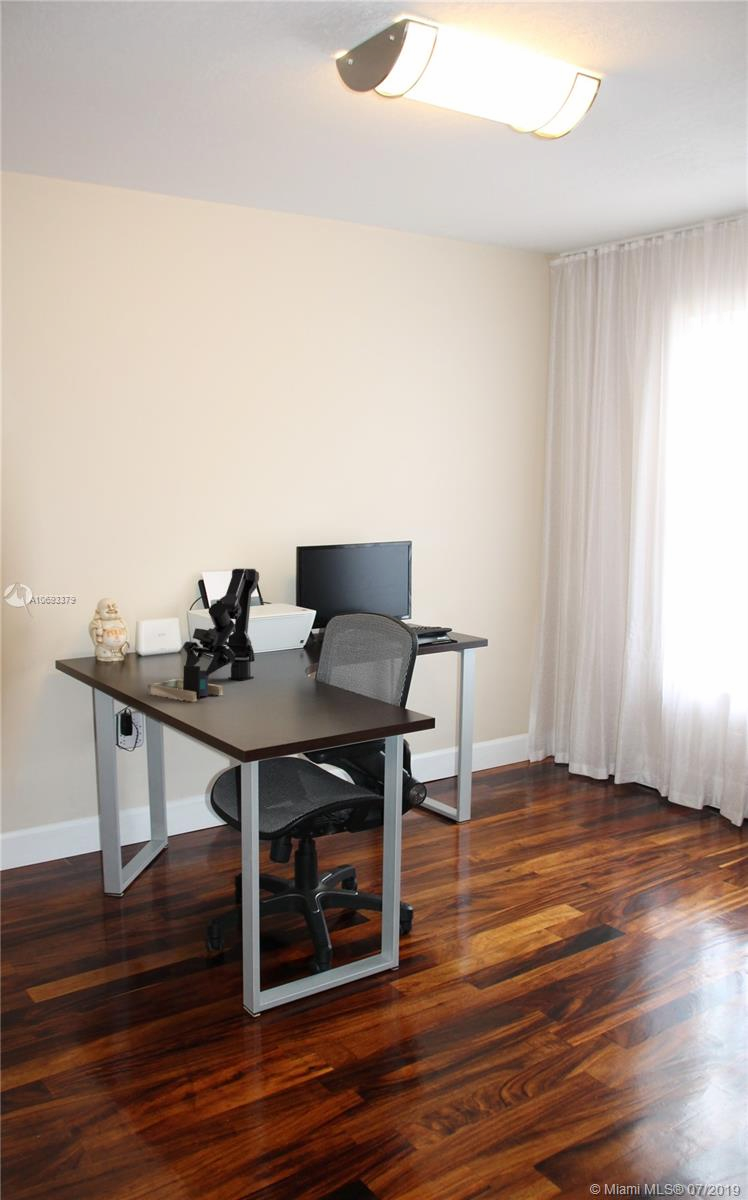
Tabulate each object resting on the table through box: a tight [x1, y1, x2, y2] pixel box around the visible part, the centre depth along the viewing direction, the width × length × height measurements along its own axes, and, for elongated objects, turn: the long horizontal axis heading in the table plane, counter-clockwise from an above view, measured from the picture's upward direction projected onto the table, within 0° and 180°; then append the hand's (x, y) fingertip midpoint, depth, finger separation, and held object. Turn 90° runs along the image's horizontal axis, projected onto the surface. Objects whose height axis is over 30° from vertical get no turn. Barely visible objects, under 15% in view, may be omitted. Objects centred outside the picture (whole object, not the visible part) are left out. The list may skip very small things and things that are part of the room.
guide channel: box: [146, 678, 224, 703], centre depth 311 cm, size 13×20×3 cm, turn 55°
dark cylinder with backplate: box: [182, 665, 210, 700], centre depth 307 cm, size 8×6×10 cm
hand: (195, 673), depth 307 cm, fingers open, 9 cm apart
